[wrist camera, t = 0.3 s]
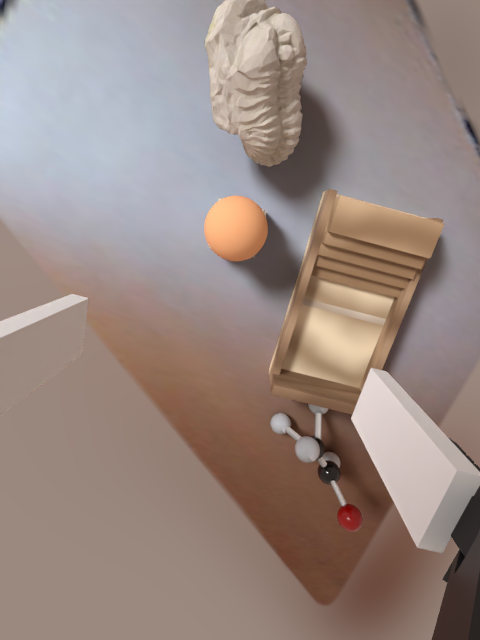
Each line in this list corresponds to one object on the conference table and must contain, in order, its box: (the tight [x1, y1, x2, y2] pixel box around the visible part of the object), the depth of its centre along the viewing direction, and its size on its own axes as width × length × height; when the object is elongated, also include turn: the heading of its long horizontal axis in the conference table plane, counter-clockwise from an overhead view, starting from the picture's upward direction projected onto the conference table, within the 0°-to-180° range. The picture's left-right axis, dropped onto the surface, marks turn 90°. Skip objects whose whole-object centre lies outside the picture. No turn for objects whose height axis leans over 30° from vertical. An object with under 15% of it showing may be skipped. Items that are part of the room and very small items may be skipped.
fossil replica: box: [205, 0, 307, 167], centre depth 29 cm, size 12×8×10 cm
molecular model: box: [270, 404, 363, 532], centre depth 40 cm, size 8×12×11 cm
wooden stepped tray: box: [269, 189, 444, 415], centre depth 36 cm, size 22×12×6 cm, turn 166°
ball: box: [204, 196, 268, 261], centre depth 31 cm, size 6×6×6 cm
